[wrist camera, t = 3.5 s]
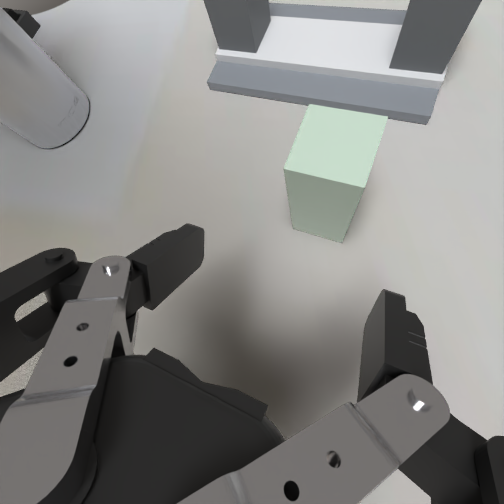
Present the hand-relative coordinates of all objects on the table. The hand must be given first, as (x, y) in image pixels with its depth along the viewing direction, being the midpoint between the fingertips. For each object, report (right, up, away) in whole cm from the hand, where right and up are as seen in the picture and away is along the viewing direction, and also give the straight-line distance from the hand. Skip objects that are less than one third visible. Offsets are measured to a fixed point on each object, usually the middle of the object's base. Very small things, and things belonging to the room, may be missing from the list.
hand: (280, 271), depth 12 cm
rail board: (+7, +22, +17) cm, 28 cm away
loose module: (+5, +4, +13) cm, 15 cm away
